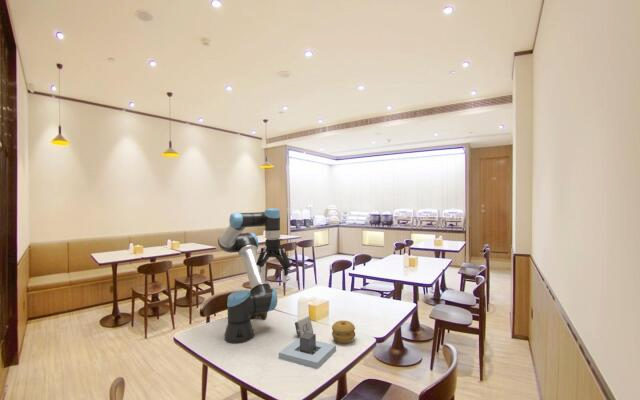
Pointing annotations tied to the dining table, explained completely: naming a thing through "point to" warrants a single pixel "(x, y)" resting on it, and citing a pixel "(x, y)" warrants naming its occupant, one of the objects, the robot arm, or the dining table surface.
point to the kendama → (259, 315)
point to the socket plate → (306, 359)
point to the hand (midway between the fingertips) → (273, 280)
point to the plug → (308, 343)
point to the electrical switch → (303, 326)
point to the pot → (343, 331)
